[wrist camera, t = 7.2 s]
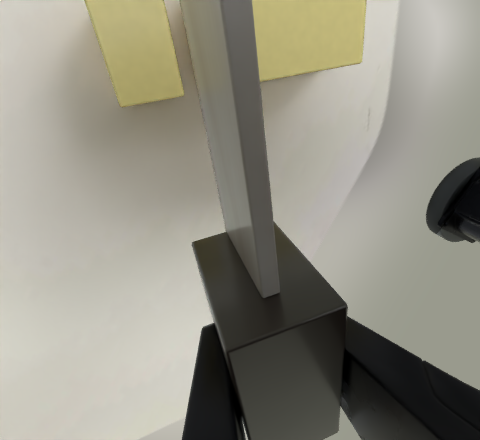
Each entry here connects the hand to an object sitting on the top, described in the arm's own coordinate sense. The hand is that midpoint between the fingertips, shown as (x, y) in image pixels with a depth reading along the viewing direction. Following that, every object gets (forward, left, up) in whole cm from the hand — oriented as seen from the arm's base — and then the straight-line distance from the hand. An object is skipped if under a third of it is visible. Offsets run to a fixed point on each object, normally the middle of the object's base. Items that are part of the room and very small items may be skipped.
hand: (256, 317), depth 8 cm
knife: (+2, -2, -1) cm, 3 cm away
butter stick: (0, -9, -10) cm, 13 cm away
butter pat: (+5, -5, -10) cm, 12 cm away
